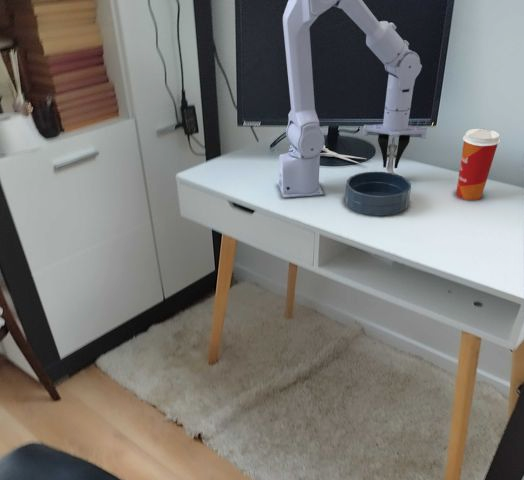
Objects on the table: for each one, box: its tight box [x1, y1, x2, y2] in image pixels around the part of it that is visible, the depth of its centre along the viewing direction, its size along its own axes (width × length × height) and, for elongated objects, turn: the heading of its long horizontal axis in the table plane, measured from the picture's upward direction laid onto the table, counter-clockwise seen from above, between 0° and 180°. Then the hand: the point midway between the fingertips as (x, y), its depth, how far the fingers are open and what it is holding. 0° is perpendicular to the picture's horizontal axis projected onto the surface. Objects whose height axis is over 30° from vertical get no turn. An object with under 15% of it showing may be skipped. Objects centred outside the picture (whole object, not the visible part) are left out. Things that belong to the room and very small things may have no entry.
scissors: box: [320, 144, 366, 165], centre depth 147 cm, size 11×1×20 cm
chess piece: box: [384, 136, 399, 175], centre depth 132 cm, size 5×5×10 cm
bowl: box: [344, 171, 412, 216], centre depth 123 cm, size 14×14×4 cm
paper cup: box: [456, 128, 501, 201], centre depth 122 cm, size 8×8×14 cm
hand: (390, 166), depth 133 cm, fingers closed on chess piece, 2 cm apart
